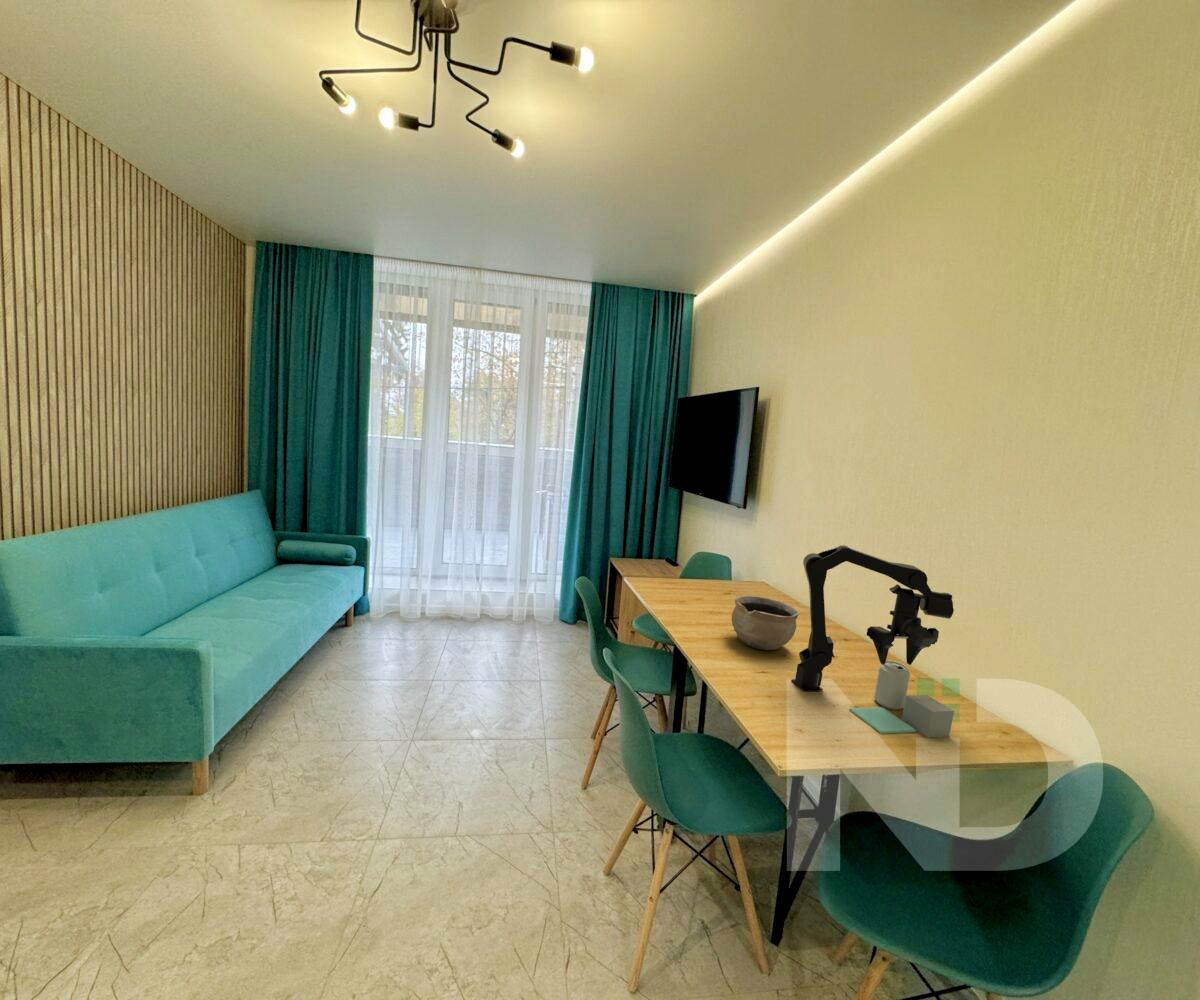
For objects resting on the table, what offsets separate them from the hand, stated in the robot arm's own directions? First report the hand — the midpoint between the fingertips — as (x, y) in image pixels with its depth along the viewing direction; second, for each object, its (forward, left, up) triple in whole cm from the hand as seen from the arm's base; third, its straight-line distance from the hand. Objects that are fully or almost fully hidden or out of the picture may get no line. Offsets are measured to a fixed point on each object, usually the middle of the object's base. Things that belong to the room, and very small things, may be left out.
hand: (895, 664), depth 143 cm
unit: (0, -12, -12) cm, 17 cm away
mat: (-10, -8, -12) cm, 17 cm away
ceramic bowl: (-16, +41, -12) cm, 46 cm away
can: (0, 0, -12) cm, 12 cm away
